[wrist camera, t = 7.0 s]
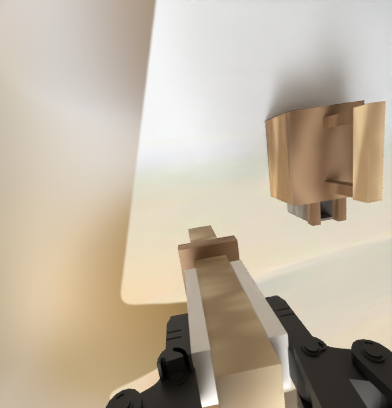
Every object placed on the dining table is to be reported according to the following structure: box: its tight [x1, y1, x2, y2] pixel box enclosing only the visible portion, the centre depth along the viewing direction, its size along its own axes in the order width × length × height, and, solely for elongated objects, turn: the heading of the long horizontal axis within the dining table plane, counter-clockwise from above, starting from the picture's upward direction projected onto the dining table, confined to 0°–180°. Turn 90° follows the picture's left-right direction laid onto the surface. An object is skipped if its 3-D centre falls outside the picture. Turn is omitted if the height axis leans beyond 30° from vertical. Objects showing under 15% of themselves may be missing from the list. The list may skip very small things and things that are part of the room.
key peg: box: [178, 225, 285, 408], centre depth 16 cm, size 4×4×16 cm
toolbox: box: [265, 113, 333, 221], centre depth 42 cm, size 12×19×8 cm, turn 8°
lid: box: [285, 100, 385, 226], centre depth 33 cm, size 12×19×10 cm, turn 8°
